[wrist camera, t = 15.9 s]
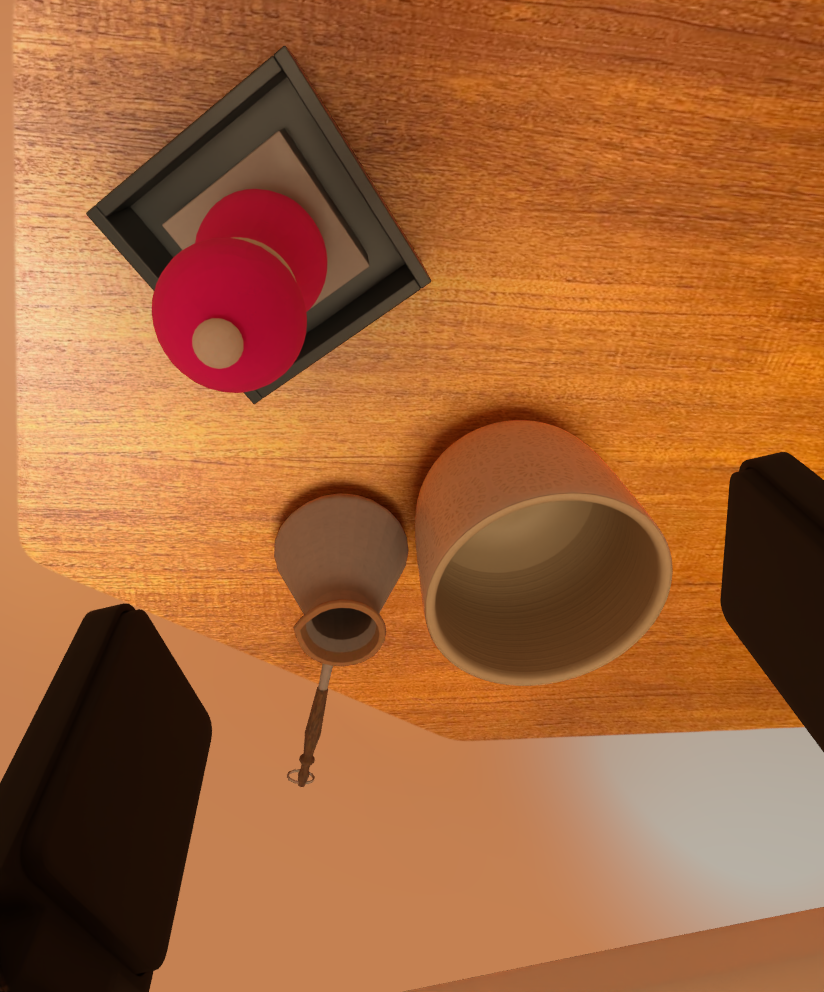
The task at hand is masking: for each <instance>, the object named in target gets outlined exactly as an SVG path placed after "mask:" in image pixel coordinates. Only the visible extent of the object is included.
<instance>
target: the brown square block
mask: <svg viewBox="0 0 824 992" xmlns="http://www.w3.org/2000/svg"><path fill="white" fill-rule="evenodd" d="M245 189H263V190H270V191H273V192H276V193H280V194H283V195H285V196H287V197H289V198H291V199H293V200H294V201H295V202H297V203H298V204H299V205H300V206H301V207H302V208H303V209H304V210H305V211H306V212H307V213H308V214H309V215H310V217H311V218H312V219H313V220H314V222H315V224H316V225H317V227H318V228H319V230H320V233H321V235H322V237H323V240H324V243H325V247H326V252H327V260H328V262H327V274H326V280H325V283H324V286H323V288H322V291H321V293H320V295H319V297H318V298H317V300H316V302H315V303H314V305H313V306H312V307H314V306H315V305H317V304H318V303H319V302H321V301H322V300H324V299H325V298H326V297H328V296H329V295H331V294H332V293H333V292H335V291H336V290H337V289H339V288H340V287H342V286H343V285H344V284H346V283H347V282H349V281H350V280H351V279H353V278H354V277H356V276H357V275H358V274H360V273H361V272H363V271H364V270H365V269H367V268H368V267H369V260H368V254H367V252H366V251H365V249H364V248H363V246H362V245H361V243H360V242H359V240H358V239H357V237H356V236H355V234H354V233H353V231H352V230H351V228H350V227H349V225H348V224H347V222H346V220H345V219H344V217H343V216H342V214H341V213H340V211H339V210H338V208H337V207H336V205H335V204H334V202H333V201H332V199H331V198H330V196H329V195H328V193H327V192H326V190H325V189H324V187H323V186H322V184H321V183H320V181H319V180H318V178H317V177H316V175H315V174H314V172H313V171H312V169H311V168H310V166H309V165H308V163H307V162H306V160H305V159H304V157H303V156H302V154H301V153H300V151H299V150H298V148H297V147H296V145H295V144H294V142H293V140H292V139H291V137H290V136H289V134H288V133H287V131H286V130H285V129H282V130H279V131H277V132H276V133H275V134H274V135H272V136H271V137H270V138H269V139H267V140H266V141H265V142H264V143H262V144H261V145H260V146H259V147H257V148H256V149H255V150H254V151H252V152H251V153H250V154H249V155H248V156H246V157H245V158H244V159H243V160H241V161H240V162H239V163H238V164H236V165H235V166H234V167H233V168H231V169H230V170H229V171H228V172H227V173H225V174H224V175H223V176H222V177H220V178H219V179H218V180H217V181H215V182H214V183H213V184H212V185H210V186H209V187H208V188H207V189H205V190H204V191H203V192H202V193H201V194H199V195H198V196H197V197H196V198H194V199H193V200H192V201H191V202H189V203H188V204H187V205H186V206H184V207H183V208H182V209H181V210H179V211H178V212H177V213H176V214H175V215H173V216H172V217H171V218H170V219H168V220H167V221H166V222H165V223H163V224H162V226H163V227H164V228H165V230H166V231H167V232H168V233H169V234H170V236H171V237H172V238H173V239H174V240H175V242H176V243H177V244H178V245H179V247H180V248H181V249H182V250H184V249H185V248H187V247H189V246H191V245H193V244H195V240H196V235H197V232H198V230H199V227H200V225H201V223H202V221H203V219H204V218H205V216H206V215H207V213H208V212H209V210H210V209H211V208H212V207H213V206H214V205H215V204H216V203H217V202H218V201H220V200H221V199H223V198H224V197H225V196H228V195H230V194H232V193H234V192H237V191H241V190H245ZM312 307H311V308H312ZM311 308H310V309H311Z"/></svg>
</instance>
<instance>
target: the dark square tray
mask: <svg viewBox="0 0 824 992" xmlns="http://www.w3.org/2000/svg"><path fill="white" fill-rule="evenodd" d="M282 129H285V130H286V131H287V133H288V134H289V136H290V137H291V139H292V140H293V142H294V144H295V145H296V147H297V148H298V150H299V151H300V153H301V154H302V156H303V157H304V159H305V160H306V162H307V163H308V165H309V166H310V168H311V169H312V171H313V172H314V174H315V175H316V177H317V178H318V180H319V181H320V183H321V184H322V186H323V187H324V189H325V190H326V192H327V193H328V195H329V196H330V198H331V199H332V201H333V202H334V204H335V205H336V207H337V208H338V210H339V211H340V213H341V214H342V216H343V217H344V219H345V220H346V222H347V224H348V225H349V227H350V228H351V230H352V231H353V233H354V234H355V236H356V237H357V239H358V240H359V242H360V243H361V245H362V246H363V248H364V249H365V251H366V252H367V254H368V260H369V267H368V268H367V269H365V270H364V271H363V272H361V273H360V274H358V275H357V276H356V277H354V278H353V279H351V280H350V281H349V282H347V283H346V284H344V285H343V286H342V287H340V288H339V289H337V290H336V291H335V292H333V293H332V294H331V295H329V296H328V297H326V298H325V299H324V300H322V301H321V302H319V303H318V304H317V305H315V306H314V307H312V308H311V309H310V310H308V311H307V312H306V314H307V328H306V336H305V340H304V344H303V346H302V349H301V351H300V353H299V355H298V357H297V359H296V360H295V362H294V364H293V365H292V366H291V367H290V368H289V369H288V370H287V372H286V373H285V374H283V375H282V376H281V377H280V378H278V379H277V380H275V381H274V382H272V383H271V384H269V385H266V386H264V387H261V388H259V389H256V390H253V391H248V392H244V394H245V395H246V396H247V397H248V398H249V399H250V400H251V401H252V403H253V404H256V403H257V402H258V401H260V400H261V399H262V398H264V397H266V396H267V395H269V394H270V393H271V392H273V391H274V390H276V389H277V388H279V387H280V386H282V385H283V384H284V383H286V382H287V381H289V380H290V379H292V378H293V377H295V376H296V375H297V374H299V373H300V372H302V371H303V370H305V369H306V368H308V367H309V366H310V365H312V364H313V363H315V362H316V361H318V360H319V359H321V358H322V357H323V356H325V355H326V354H328V353H329V352H331V351H332V350H334V349H335V348H336V347H338V346H339V345H341V344H342V343H344V342H345V341H347V340H348V339H349V338H351V337H352V336H354V335H355V334H357V333H358V332H359V331H361V330H362V329H364V328H365V327H367V326H368V325H370V324H371V323H372V322H374V321H375V320H377V319H378V318H380V317H381V316H383V315H384V314H385V313H387V312H388V311H390V310H391V309H393V308H394V307H396V306H397V305H398V304H400V303H401V302H403V301H404V300H406V299H407V298H409V297H410V296H411V295H413V294H414V293H416V292H417V291H419V290H420V289H421V288H423V287H425V286H426V285H427V284H429V283H430V282H431V279H430V277H429V275H428V273H427V272H426V270H425V268H424V266H423V264H422V262H421V261H420V259H419V257H418V256H417V254H416V252H415V251H414V249H413V248H412V246H411V244H410V243H409V241H408V240H407V238H406V236H405V235H404V233H403V231H402V230H401V228H400V227H399V225H398V223H397V222H396V220H395V219H394V217H393V215H392V214H391V212H390V210H389V209H388V207H387V206H386V204H385V202H384V201H383V199H382V198H381V196H380V194H379V193H378V191H377V189H376V188H375V186H374V185H373V183H372V181H371V180H370V178H369V177H368V175H367V173H366V172H365V170H364V168H363V167H362V165H361V164H360V162H359V160H358V159H357V157H356V156H355V154H354V152H353V151H352V149H351V147H350V146H349V144H348V143H347V141H346V139H345V138H344V136H343V135H342V133H341V131H340V130H339V128H338V126H337V125H336V123H335V122H334V120H333V118H332V117H331V115H330V114H329V112H328V110H327V109H326V107H325V105H324V104H323V102H322V101H321V99H320V97H319V96H318V94H317V93H316V91H315V89H314V88H313V86H312V84H311V83H310V81H309V80H308V78H307V76H306V75H305V73H304V72H303V70H302V68H301V67H300V65H299V63H298V62H297V60H296V59H295V57H294V55H293V54H292V53H291V52H290V51H289V49H288V48H287V47H286V46H283V47H282V48H281V49H280V50H278V51H277V52H276V53H275V54H274V56H271V57H270V58H269V59H268V60H267V61H265V62H264V63H263V64H262V65H261V66H259V67H258V68H257V69H256V70H255V71H254V72H252V73H251V74H250V75H249V76H248V77H246V78H245V79H244V80H243V81H242V82H240V83H239V84H238V85H237V86H236V87H235V88H233V89H232V90H231V91H230V92H229V93H227V94H226V95H225V96H224V97H223V98H222V99H220V100H219V101H218V102H217V103H216V104H214V105H213V106H212V107H211V108H210V109H208V110H207V111H206V112H205V113H204V114H203V115H201V116H200V117H199V118H198V119H197V120H195V121H194V122H193V123H192V124H191V125H190V126H188V127H187V128H186V129H185V130H184V131H182V132H181V133H180V134H179V135H178V136H177V137H175V138H174V139H173V140H172V141H171V142H169V143H168V144H167V145H166V146H165V147H163V148H162V149H161V150H160V151H159V152H158V153H156V154H155V155H154V156H153V157H152V158H150V159H149V160H148V161H147V162H146V163H145V164H143V165H142V166H141V167H140V168H139V169H137V170H136V171H135V172H134V173H133V174H131V175H130V176H129V177H128V178H127V179H126V180H124V181H123V182H122V183H121V184H120V185H118V186H117V187H116V188H115V189H114V190H113V191H111V192H110V193H109V194H108V195H107V196H105V197H104V198H103V199H102V200H101V201H99V202H98V203H97V204H96V205H95V206H94V207H92V208H91V209H90V210H89V211H88V212H87V213H86V214H87V216H88V217H89V218H90V219H91V220H92V221H93V222H94V224H95V225H96V226H97V227H98V228H99V229H100V230H101V231H102V233H103V234H104V235H105V236H106V237H107V238H108V239H109V241H110V242H111V243H112V244H113V245H114V246H115V247H116V248H117V250H118V251H119V252H120V253H121V254H122V255H123V256H124V258H125V259H126V260H127V261H128V262H129V263H130V264H131V265H132V267H133V268H134V269H135V270H136V271H137V272H138V273H139V275H140V276H141V277H142V278H143V279H144V280H145V281H146V282H147V284H148V285H149V286H150V287H151V288H152V289H153V290H154V291H155V287H156V283H157V281H158V279H159V277H160V275H161V273H162V271H163V270H164V269H165V267H166V266H167V265H168V264H169V262H170V261H171V260H172V259H173V258H174V257H175V256H176V255H177V254H178V253H179V252H181V251H182V249H181V248H180V247H179V245H178V244H177V243H176V242H175V240H174V239H173V238H172V237H171V236H170V234H169V233H168V232H167V231H166V230H165V228H164V227H163V226H162V224H163V223H165V222H166V221H167V220H168V219H170V218H171V217H172V216H173V215H175V214H176V213H177V212H178V211H179V210H181V209H182V208H183V207H184V206H186V205H187V204H188V203H189V202H191V201H192V200H193V199H194V198H196V197H197V196H198V195H199V194H201V193H202V192H203V191H204V190H205V189H207V188H208V187H209V186H210V185H212V184H213V183H214V182H215V181H217V180H218V179H219V178H220V177H222V176H223V175H224V174H225V173H227V172H228V171H229V170H230V169H231V168H233V167H234V166H235V165H236V164H238V163H239V162H240V161H241V160H243V159H244V158H245V157H246V156H248V155H249V154H250V153H251V152H252V151H254V150H255V149H256V148H257V147H259V146H260V145H261V144H262V143H264V142H265V141H266V140H267V139H269V138H270V137H271V136H272V135H274V134H275V133H276V132H277V131H279V130H282Z"/></svg>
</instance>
